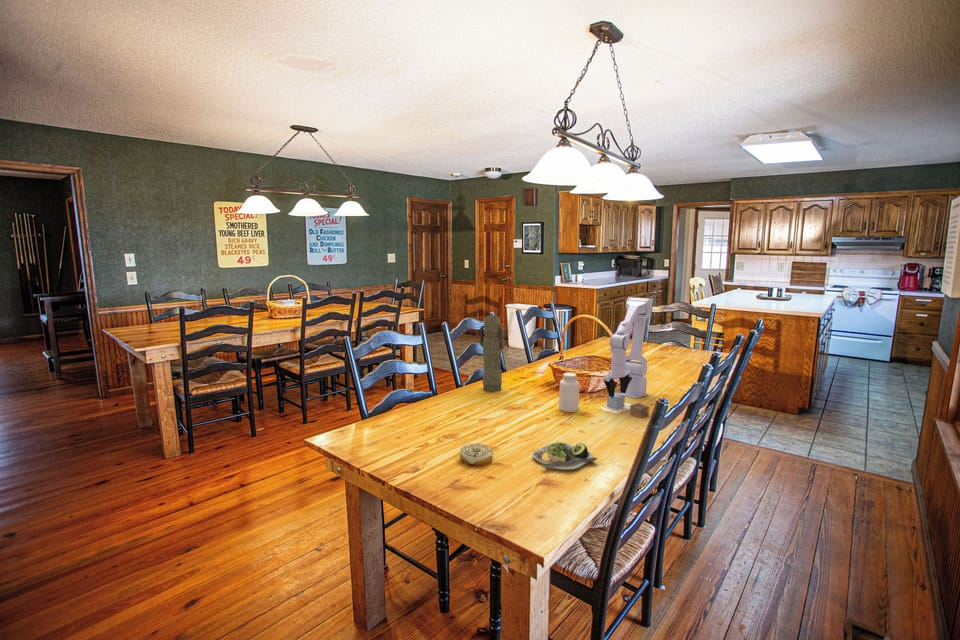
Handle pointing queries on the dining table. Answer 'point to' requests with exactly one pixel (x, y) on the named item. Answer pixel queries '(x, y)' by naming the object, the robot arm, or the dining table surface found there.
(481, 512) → the dining table surface
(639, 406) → the walnut block
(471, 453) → the decorated donut
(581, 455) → the salad plate
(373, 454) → the dining table surface
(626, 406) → the letter
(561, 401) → the pill bottle
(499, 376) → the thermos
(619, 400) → the slate cube
